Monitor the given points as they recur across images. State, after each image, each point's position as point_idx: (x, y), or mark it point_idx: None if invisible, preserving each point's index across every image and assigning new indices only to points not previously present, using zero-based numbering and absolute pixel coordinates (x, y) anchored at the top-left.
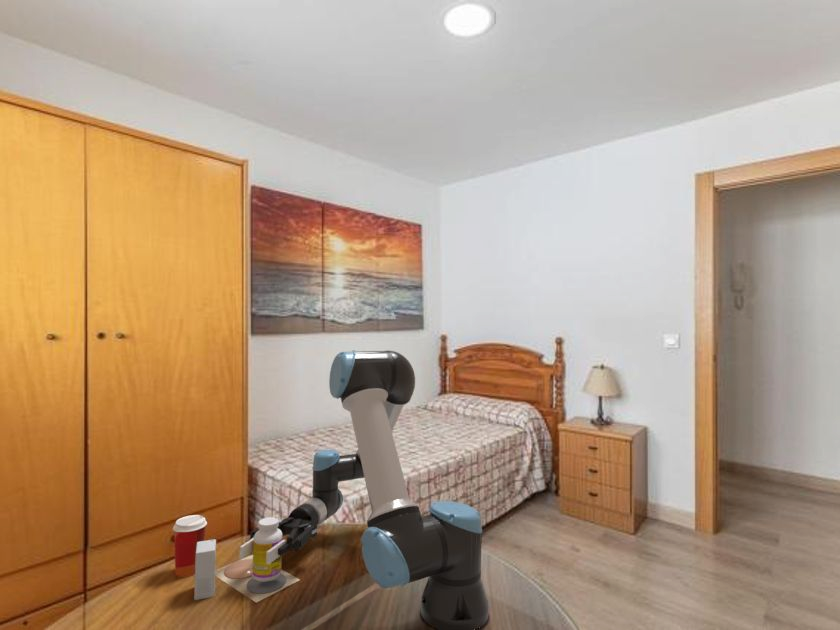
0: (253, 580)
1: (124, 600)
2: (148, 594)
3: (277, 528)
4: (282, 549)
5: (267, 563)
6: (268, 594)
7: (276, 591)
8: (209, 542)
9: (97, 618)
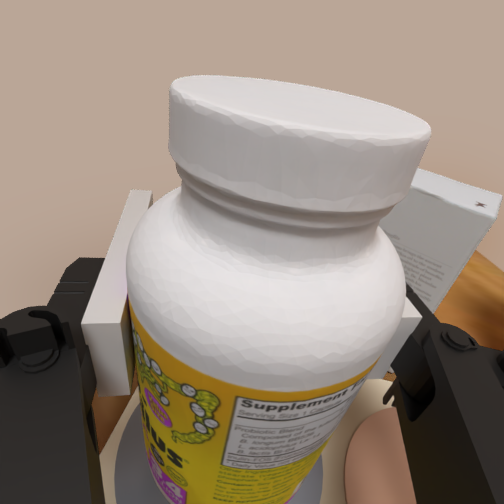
0: None
1: (478, 278)
2: (479, 303)
3: (191, 203)
4: (73, 265)
5: None
6: None
7: (130, 408)
8: (466, 196)
9: None
